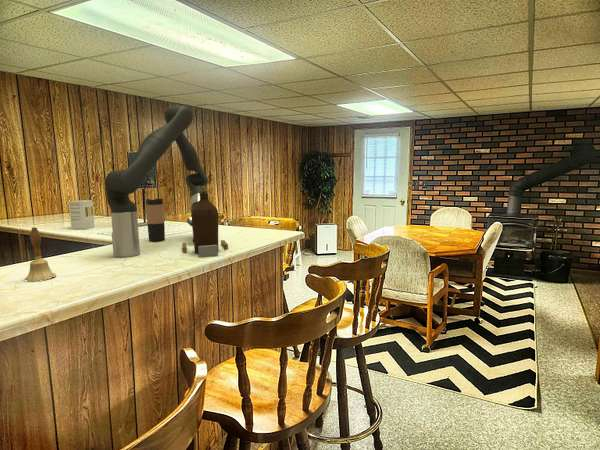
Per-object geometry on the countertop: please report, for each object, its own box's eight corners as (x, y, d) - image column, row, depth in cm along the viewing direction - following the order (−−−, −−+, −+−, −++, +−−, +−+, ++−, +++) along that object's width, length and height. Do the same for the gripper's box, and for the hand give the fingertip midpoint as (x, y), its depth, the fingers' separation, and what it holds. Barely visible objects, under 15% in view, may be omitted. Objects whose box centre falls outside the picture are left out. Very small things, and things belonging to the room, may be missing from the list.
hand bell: (20, 283, 111) (14, 230, 109) (28, 276, 119) (22, 226, 117) (53, 280, 115) (48, 228, 113) (58, 273, 122) (53, 225, 120)
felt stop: (199, 257, 143) (198, 247, 142) (198, 256, 145) (198, 246, 144) (217, 255, 145) (217, 245, 144) (217, 254, 147) (216, 244, 146)
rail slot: (183, 253, 151) (182, 248, 151) (182, 247, 162) (182, 243, 162) (228, 249, 157) (228, 244, 157) (224, 244, 168) (224, 240, 168)
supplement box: (86, 229, 223) (83, 201, 220) (70, 229, 223) (68, 201, 221) (95, 227, 232) (92, 200, 230) (80, 227, 232) (77, 200, 230)
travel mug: (159, 242, 176) (156, 199, 173) (145, 242, 178) (142, 199, 175) (168, 239, 183) (165, 198, 181) (154, 239, 185) (151, 198, 182)
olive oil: (225, 250, 155) (222, 189, 152) (209, 255, 145) (206, 190, 142) (204, 248, 159) (201, 189, 156) (187, 253, 150) (183, 190, 146)
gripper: (184, 200, 170) (187, 231, 160) (214, 199, 174) (218, 229, 165) (185, 211, 176) (187, 241, 166) (213, 210, 180) (217, 239, 170)
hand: (203, 235), depth 165 cm, fingers closed
